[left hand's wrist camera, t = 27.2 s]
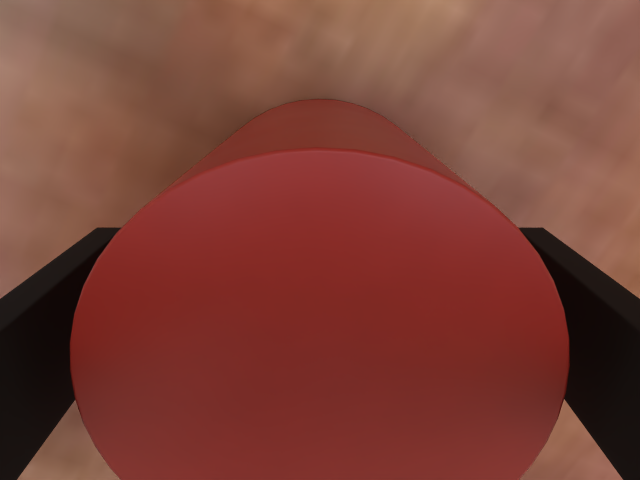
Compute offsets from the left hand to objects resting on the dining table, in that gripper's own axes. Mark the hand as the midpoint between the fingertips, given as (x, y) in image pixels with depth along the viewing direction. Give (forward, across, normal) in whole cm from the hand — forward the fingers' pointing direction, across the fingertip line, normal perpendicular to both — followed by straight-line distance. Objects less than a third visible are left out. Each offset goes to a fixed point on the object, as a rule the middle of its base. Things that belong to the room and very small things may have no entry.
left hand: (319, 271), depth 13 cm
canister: (+4, 0, 0) cm, 4 cm away
